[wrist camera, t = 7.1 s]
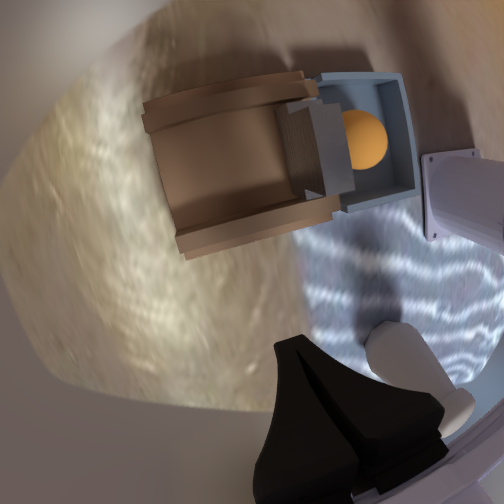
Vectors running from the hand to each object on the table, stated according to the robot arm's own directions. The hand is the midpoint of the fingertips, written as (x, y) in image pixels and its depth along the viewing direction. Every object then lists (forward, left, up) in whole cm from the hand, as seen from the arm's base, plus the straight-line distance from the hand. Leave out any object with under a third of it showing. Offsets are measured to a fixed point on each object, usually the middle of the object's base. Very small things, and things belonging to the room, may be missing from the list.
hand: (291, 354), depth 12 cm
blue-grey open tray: (-9, -8, -9) cm, 16 cm away
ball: (-8, -8, -7) cm, 14 cm away
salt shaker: (-11, +11, -10) cm, 18 cm away
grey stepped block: (-4, -8, -7) cm, 12 cm away
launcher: (-1, -8, -9) cm, 12 cm away
